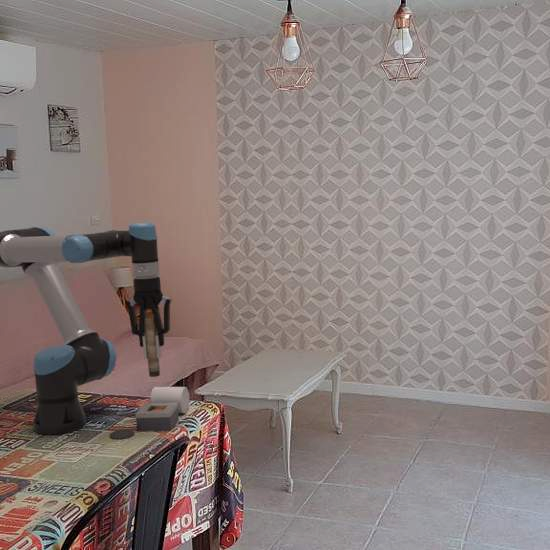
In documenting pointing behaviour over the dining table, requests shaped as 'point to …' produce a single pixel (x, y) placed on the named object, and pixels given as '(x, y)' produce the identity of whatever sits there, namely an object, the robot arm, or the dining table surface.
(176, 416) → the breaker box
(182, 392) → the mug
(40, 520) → the dining table surface
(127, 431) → the coaster
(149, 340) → the brown upright bar
